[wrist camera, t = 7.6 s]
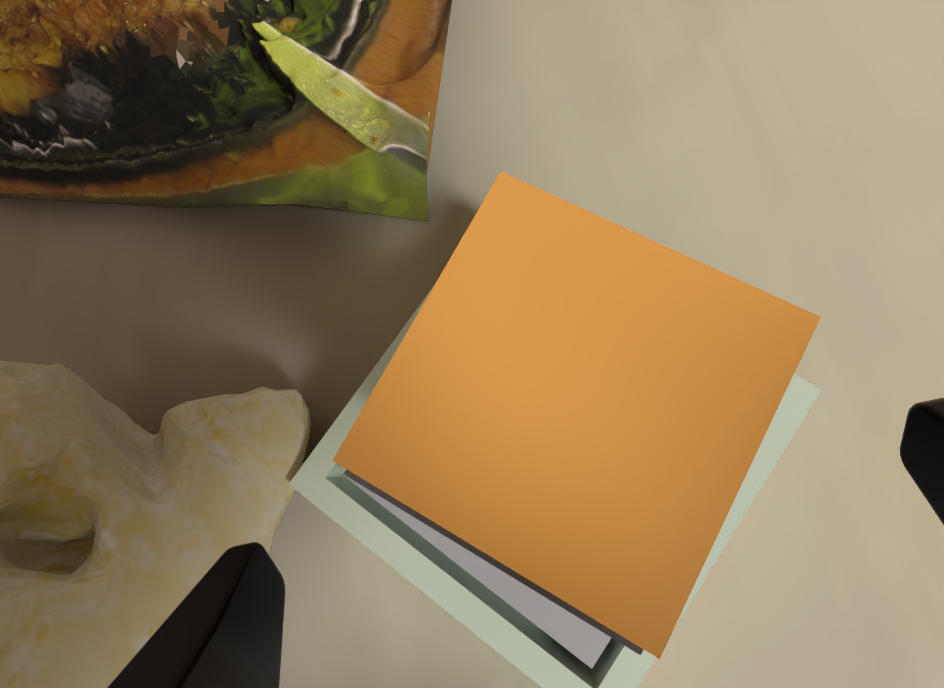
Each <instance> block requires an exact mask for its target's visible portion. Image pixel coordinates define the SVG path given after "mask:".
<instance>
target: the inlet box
mask: <svg viewBox="0 0 944 688" xmlns="http://www.w3.org/2000/svg"><path fill="white" fill-rule="evenodd" d="M433 287H434V286H433ZM433 287H432V289H433ZM432 289H431V290H432ZM431 290H430V291H429V293H428V294H427V296H426V297H425V298H424V300H423V301H422V302H421V304H420V305H419V307H418V308H417V309H416V311H415V312H414V313H413V315H412V316H411V317H410V319H409V320H408V322H407V323H406V324H405V326H404V327H403V328H402V330H401V331H400V332H399V334H398V335H397V337H396V338H395V339H394V341H393V342H392V343H391V345H390V346H389V348H388V349H387V350H386V352H385V353H384V354H383V356H382V357H381V358H380V360H379V361H378V363H377V364H376V365H375V367H374V368H373V369H372V371H371V372H370V374H369V375H368V376H367V378H366V379H365V380H364V382H363V383H362V384H361V386H360V387H359V389H358V390H357V391H356V393H355V394H354V395H353V397H352V398H351V400H350V401H349V402H348V404H347V405H346V406H345V408H344V409H343V410H342V412H341V413H340V415H339V416H338V417H337V419H336V420H335V421H334V423H333V424H332V425H331V427H330V428H329V430H328V431H327V432H326V434H325V435H324V436H323V438H322V439H321V441H320V442H319V443H318V445H317V446H316V447H315V449H314V450H313V451H312V453H311V454H310V456H309V457H308V458H307V460H306V461H305V462H304V464H303V465H302V467H301V468H300V469H299V471H298V472H297V473H296V475H295V476H294V477H293V479H292V480H291V482H290V483H289V485H290V486H291V487H293V488H294V489H295V490H296V491H298V492H299V493H300V494H301V495H303V496H304V497H305V498H306V499H308V500H309V501H310V502H311V503H312V504H314V505H315V506H316V507H317V508H319V509H320V510H321V511H322V512H324V513H325V514H326V515H327V516H329V517H330V518H331V519H332V520H334V521H335V522H336V523H337V524H339V525H340V526H341V527H342V528H344V529H345V530H346V531H347V532H349V533H350V534H351V535H352V536H354V537H355V538H356V539H357V540H359V541H360V542H361V543H362V544H363V545H365V546H366V547H367V548H368V549H370V550H371V551H372V552H373V553H375V554H376V555H377V556H378V557H380V558H381V559H382V560H383V561H385V562H386V563H387V564H388V565H390V566H391V567H392V568H393V569H395V570H396V571H397V572H398V573H400V574H401V575H402V576H403V577H405V578H406V579H407V580H408V581H410V582H411V583H412V584H413V585H415V586H416V587H417V588H418V589H419V590H421V591H422V592H423V593H424V594H426V595H427V596H428V597H429V598H431V599H432V600H433V601H434V602H436V603H437V604H438V605H439V606H441V607H442V608H443V609H444V610H446V611H447V612H448V613H449V614H451V615H452V616H453V617H454V618H456V619H457V620H458V621H459V622H461V623H462V624H463V625H464V626H466V627H467V628H468V629H469V630H470V631H472V632H473V633H474V634H475V635H477V636H478V637H479V638H480V639H482V640H483V641H484V642H485V643H487V644H488V645H489V646H490V647H492V648H493V649H494V650H495V651H497V652H498V653H499V654H500V655H502V656H503V657H504V658H505V659H507V660H508V661H509V662H510V663H512V664H513V665H514V666H515V667H517V668H518V669H519V670H520V671H521V672H523V673H524V674H525V675H526V676H528V677H529V678H530V679H531V680H533V681H534V682H535V683H536V684H538V685H539V686H540V687H541V688H638V686H639V684H640V683H641V681H642V679H643V678H644V676H645V675H646V673H647V671H648V670H649V668H650V667H651V665H652V663H653V662H654V660H655V658H656V657H655V656H654V655H652V654H650V653H649V652H647V651H645V650H643V652H642V654H641V655H639V654H637V653H636V652H634V651H632V650H631V649H629V648H627V647H626V646H624V645H623V644H621V643H619V642H618V641H616V640H614V639H613V638H611V637H609V636H608V635H606V634H605V633H603V632H601V631H600V630H598V629H596V628H595V627H593V626H591V625H590V624H588V623H586V622H585V621H583V620H582V619H580V618H578V617H577V616H575V615H573V614H572V613H570V612H568V611H567V610H565V609H564V608H562V607H560V606H559V605H557V604H555V603H554V602H552V601H550V600H549V599H547V598H546V597H544V596H542V595H541V594H539V593H537V592H536V591H534V590H532V589H531V588H529V587H527V586H526V585H524V584H523V583H521V582H519V581H518V580H516V579H514V578H513V577H511V576H509V575H508V574H506V573H505V572H503V571H501V570H500V569H498V568H496V567H495V566H493V565H491V564H490V563H488V562H486V561H485V560H483V559H482V558H480V557H478V556H477V555H475V554H473V553H472V552H470V551H468V550H467V549H465V548H464V547H462V546H460V545H459V544H457V543H455V542H454V541H452V540H450V539H449V538H447V537H446V536H444V535H442V534H441V533H439V532H437V531H436V530H434V529H432V528H431V527H429V526H427V525H426V524H424V523H423V522H421V521H419V520H418V519H416V518H414V517H413V516H411V515H409V514H408V513H406V512H405V511H403V510H401V509H400V508H398V507H396V506H395V505H393V504H391V503H390V502H388V501H386V500H385V499H383V498H382V497H380V496H378V495H377V494H375V493H373V492H372V491H370V490H368V489H367V488H365V487H364V486H362V485H360V484H359V483H357V482H355V481H354V480H352V479H350V478H349V477H347V476H346V475H344V472H345V470H346V468H344V467H342V466H341V465H339V464H337V463H336V462H334V461H332V460H333V458H334V457H335V455H336V453H337V451H338V450H339V448H340V446H341V445H342V443H343V441H344V439H345V438H346V436H347V434H348V433H349V431H350V429H351V427H352V426H353V424H354V422H355V421H356V419H357V417H358V415H359V414H360V412H361V410H362V409H363V407H364V405H365V403H366V402H367V400H368V398H369V397H370V395H371V393H372V391H373V390H374V388H375V386H376V385H377V383H378V381H379V379H380V378H381V376H382V374H383V373H384V371H385V369H386V367H387V366H388V364H389V362H390V361H391V359H392V357H393V355H394V354H395V352H396V350H397V349H398V347H399V345H400V343H401V342H402V340H403V338H404V337H405V335H406V333H407V331H408V330H409V328H410V326H411V325H412V323H413V321H414V319H415V318H416V316H417V314H418V313H419V311H420V309H421V307H422V306H423V304H424V302H425V301H426V299H427V297H428V295H429V294H430V292H431ZM820 391H821V390H820V389H818V388H817V387H815V386H813V385H812V384H810V383H808V382H807V381H805V380H803V379H802V378H800V377H798V376H797V375H795V374H794V375H793V377H792V379H791V381H790V383H789V385H788V387H787V390H786V392H785V394H784V396H783V398H782V400H781V402H780V404H779V407H778V409H777V411H776V413H775V415H774V417H773V419H772V421H771V423H770V426H769V428H768V430H767V432H766V434H765V436H764V438H763V440H762V443H761V445H760V447H759V449H758V451H757V453H756V455H755V457H754V460H753V462H752V464H751V466H750V468H749V470H748V472H747V474H746V477H745V479H744V481H743V483H742V485H741V487H740V489H739V491H738V494H737V496H736V498H735V500H734V502H733V504H732V506H731V508H730V510H729V513H728V515H727V517H726V519H725V521H724V523H723V525H722V527H721V530H720V532H719V534H718V536H717V538H716V540H715V542H714V544H713V547H712V549H711V551H710V553H709V555H708V557H707V559H706V561H705V564H704V566H703V568H702V570H701V572H700V574H699V576H698V578H697V580H696V583H695V585H694V587H693V589H692V591H691V593H690V595H689V597H688V600H687V602H686V604H685V606H684V608H683V610H682V612H681V614H680V617H679V619H678V621H679V620H680V618H681V616H682V615H683V613H684V612H685V610H686V608H687V607H688V605H689V603H690V602H691V600H692V599H693V597H694V595H695V594H696V592H697V590H698V589H699V587H700V586H701V584H702V582H703V581H704V579H705V578H706V576H707V574H708V573H709V571H710V569H711V568H712V566H713V565H714V563H715V561H716V560H717V558H718V557H719V555H720V553H721V552H722V550H723V548H724V547H725V545H726V544H727V542H728V540H729V539H730V537H731V535H732V534H733V532H734V531H735V529H736V527H737V526H738V524H739V523H740V521H741V519H742V518H743V516H744V514H745V513H746V511H747V510H748V508H749V506H750V505H751V503H752V501H753V500H754V498H755V497H756V495H757V493H758V492H759V490H760V489H761V487H762V485H763V484H764V482H765V480H766V479H767V477H768V476H769V474H770V472H771V471H772V469H773V468H774V466H775V464H776V463H777V461H778V459H779V458H780V456H781V455H782V453H783V451H784V450H785V448H786V446H787V445H788V443H789V442H790V440H791V438H792V437H793V435H794V434H795V432H796V430H797V429H798V427H799V425H800V424H801V422H802V421H803V419H804V417H805V416H806V414H807V413H808V411H809V409H810V408H811V406H812V404H813V403H814V401H815V400H816V398H817V396H818V395H819V393H820ZM678 621H677V623H678ZM677 623H676V624H677ZM675 626H676V625H675ZM674 628H675V627H674Z"/></svg>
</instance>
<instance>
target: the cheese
mask: <svg viewBox="0 0 944 688" xmlns="http://www.w3.org/2000/svg"><path fill="white" fill-rule="evenodd" d="M310 425H311V417H310V411H309V409H308V407H307V405H306V403H305V401H304V399H303V397H302V395H301V393H300V392H299V391H298V390H297V389H281V390H275V389H270V388H266V387H259V388H256V389H254V390H251V391H248V392H245V393H242V394H224V395H219V396H213V397H208V398H202V399H197V400H192V401H187V402H185V403H182V404H180V405H178V406H175V407H173V408H171V409H169V410H168V411H167V412H166V414H165V415H164V416H163V418H162V422H161V427H160V431H159V433H158V434H155V435H153V434H151V433H149V432H147V431H146V430H144V429H143V428H141V427H140V426H138V425H137V424H135V423H134V422H133V421H132V420H131V418H130V417H129V416H128V415H127V414H126V413H124V412H123V411H122V410H121V409H120V408H118V407H117V406H116V405H114V404H113V403H112V402H110V401H108V400H106V399H104V398H103V397H102V396H100V394H99V393H98V392H97V391H96V390H95V389H94V388H93V387H92V386H91V385H90V384H88V383H87V382H86V381H85V380H83V379H82V378H80V377H79V376H78V375H77V374H76V373H74V372H73V371H71V370H70V369H68V368H67V367H65V366H64V365H63V364H62V363H61V364H53V365H43V364H35V363H23V362H9V361H2V360H0V688H107V687H108V686H109V685H110V684H111V683H112V681H113V680H114V679H115V678H116V677H117V676H118V675H119V673H120V672H121V671H122V670H123V669H124V668H125V666H126V665H127V664H128V663H129V662H130V661H131V660H132V658H133V657H134V656H135V655H136V654H137V653H138V651H139V650H140V649H141V648H142V647H143V646H144V645H145V643H146V642H147V641H148V640H149V639H150V638H151V636H152V635H153V634H154V633H155V632H156V631H157V630H158V628H159V627H160V626H161V625H162V624H163V623H164V621H165V620H166V619H167V618H168V617H169V616H170V614H171V613H172V612H173V611H174V610H175V609H176V608H177V606H178V605H179V604H180V603H181V602H182V601H183V599H184V598H185V597H186V596H187V595H188V594H189V593H190V591H191V590H192V589H193V588H194V587H195V586H196V584H197V583H198V582H199V581H200V580H201V579H202V578H203V576H204V575H205V574H206V573H207V572H208V571H209V569H210V568H211V567H212V566H213V565H214V564H215V563H216V561H217V560H218V559H219V558H220V557H221V556H222V554H223V553H224V552H225V551H226V550H227V549H229V548H231V547H233V546H237V545H242V544H247V543H251V542H258V543H260V544H261V545H262V546H263V547H264V548H265V550H266V551H267V553H268V554H269V556H270V555H271V547H272V542H273V537H274V533H275V529H276V528H277V526H278V525H279V523H280V522H281V520H282V517H283V514H284V512H285V510H286V508H287V506H288V504H289V502H290V501H291V499H292V498H293V496H294V494H295V491H296V490H295V489H294V488H293V487H291V486H290V485H289V483H290V482H291V480H292V479H293V477H294V476H295V475H296V473H297V472H298V471H299V469H300V468H301V467H302V463H303V460H304V456H305V453H306V449H307V445H308V440H309V436H310Z"/></svg>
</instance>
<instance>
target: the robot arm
mask: <svg viewBox="0 0 944 688" xmlns="http://www.w3.org/2000/svg"><path fill="white" fill-rule="evenodd" d="M900 456H901V459H902V462H903V464H904V466H905V468H906V470H907V471H908V473H909V474H910V476H911V477H912V479H913V480H914V481H915V483H916V484H917V486H918V487H919V489H920V490H921V492H922V493H923V495H924V496H925V498H926V499H927V501H928V502H929V504H930V505H931V507H932V508H933V510H934V511H935V513H936V514H937V516H938V517H939V519H940V520H941V522H942V523H943V525H944V398H939V399H934V400H930V401H925V402H920V403H916V404H914V405H913V406H912V407H911V408H910V409H909V412H908V415H907V419H906V424H905V428H904V432H903V437H902V441H901V445H900ZM284 603H285V585H284V580H283V577H282V575H281V573H280V572H279V570H278V569H277V567H276V566H275V564H274V562H273V561H272V559H271V558H270V556H269V554H268V553H267V551H266V550H265V548H264V547H263V546H262V545H261V544H260V543H258V542H251V543H247V544H242V545H237V546H233V547H231V548H229V549H227V550H226V551H225V552H224V553H223V554H222V556H221V557H220V558H219V559H218V560H217V561H216V563H215V564H214V565H213V566H212V567H211V568H210V569H209V571H208V572H207V573H206V574H205V575H204V576H203V578H202V579H201V580H200V581H199V582H198V583H197V584H196V586H195V587H194V588H193V589H192V590H191V591H190V593H189V594H188V595H187V596H186V597H185V598H184V599H183V601H182V602H181V603H180V604H179V605H178V606H177V608H176V609H175V610H174V611H173V612H172V613H171V614H170V616H169V617H168V618H167V619H166V620H165V621H164V623H163V624H162V625H161V626H160V627H159V628H158V630H157V631H156V632H155V633H154V634H153V635H152V636H151V638H150V639H149V640H148V641H147V642H146V643H145V645H144V646H143V647H142V648H141V649H140V650H139V651H138V653H137V654H136V655H135V656H134V657H133V658H132V660H131V661H130V662H129V663H128V664H127V665H126V666H125V668H124V669H123V670H122V671H121V672H120V673H119V675H118V676H117V677H116V678H115V679H114V680H113V681H112V683H111V684H110V685H109V686H108V687H107V688H279V680H280V665H281V649H282V634H283V619H284Z"/></svg>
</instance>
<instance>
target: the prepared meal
mask: <svg viewBox="0 0 944 688" xmlns="http://www.w3.org/2000/svg"><path fill="white" fill-rule="evenodd" d="M451 4H452V0H0V196H2V197H15V198H29V199H41V200H58V201H75V202H92V203H108V204H125V205H142V206H158V207H175V208H190V207H223V206H256V205H289V204H301V205H309V206H316V207H324V208H331V209H339V210H347V211H354V212H362V213H370V214H377V215H385V216H392V217H400V218H408V219H415V220H423V221H428V207H427V179H426V174H427V167H428V161H429V154H430V147H431V140H432V133H433V127H434V120H435V113H436V106H437V99H438V92H439V86H440V79H441V72H442V65H443V58H444V52H445V45H446V38H447V31H448V24H449V17H450V11H451ZM287 94H288V95H290V94H291V95H292V96H293V98H294V102H291V101H289V100H288V97H287Z"/></svg>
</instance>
